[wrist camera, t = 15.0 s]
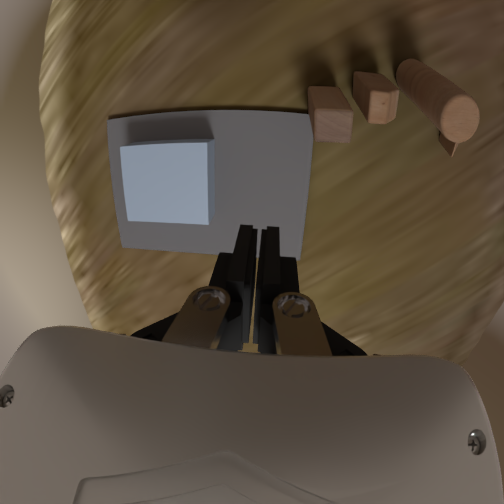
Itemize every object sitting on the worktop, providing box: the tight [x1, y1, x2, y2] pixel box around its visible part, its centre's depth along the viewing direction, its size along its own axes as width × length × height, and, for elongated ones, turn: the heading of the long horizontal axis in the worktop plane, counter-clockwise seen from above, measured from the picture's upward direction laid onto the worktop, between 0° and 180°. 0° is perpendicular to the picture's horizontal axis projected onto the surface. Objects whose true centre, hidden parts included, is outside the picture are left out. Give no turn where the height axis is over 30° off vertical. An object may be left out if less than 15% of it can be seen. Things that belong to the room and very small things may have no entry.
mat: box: [107, 110, 313, 260], centre depth 28 cm, size 16×22×1 cm
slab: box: [120, 139, 215, 225], centre depth 26 cm, size 8×3×9 cm
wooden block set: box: [308, 59, 480, 157], centre depth 19 cm, size 18×9×10 cm, turn 94°
